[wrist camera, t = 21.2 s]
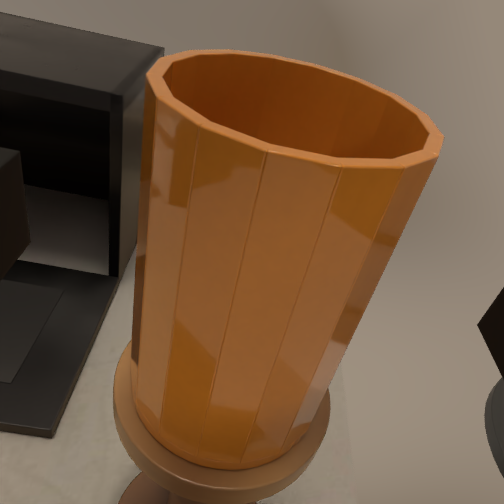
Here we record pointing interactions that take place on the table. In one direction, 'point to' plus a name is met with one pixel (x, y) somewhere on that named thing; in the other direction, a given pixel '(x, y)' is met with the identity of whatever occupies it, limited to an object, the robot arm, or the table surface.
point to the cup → (260, 242)
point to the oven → (71, 181)
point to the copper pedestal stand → (193, 475)
